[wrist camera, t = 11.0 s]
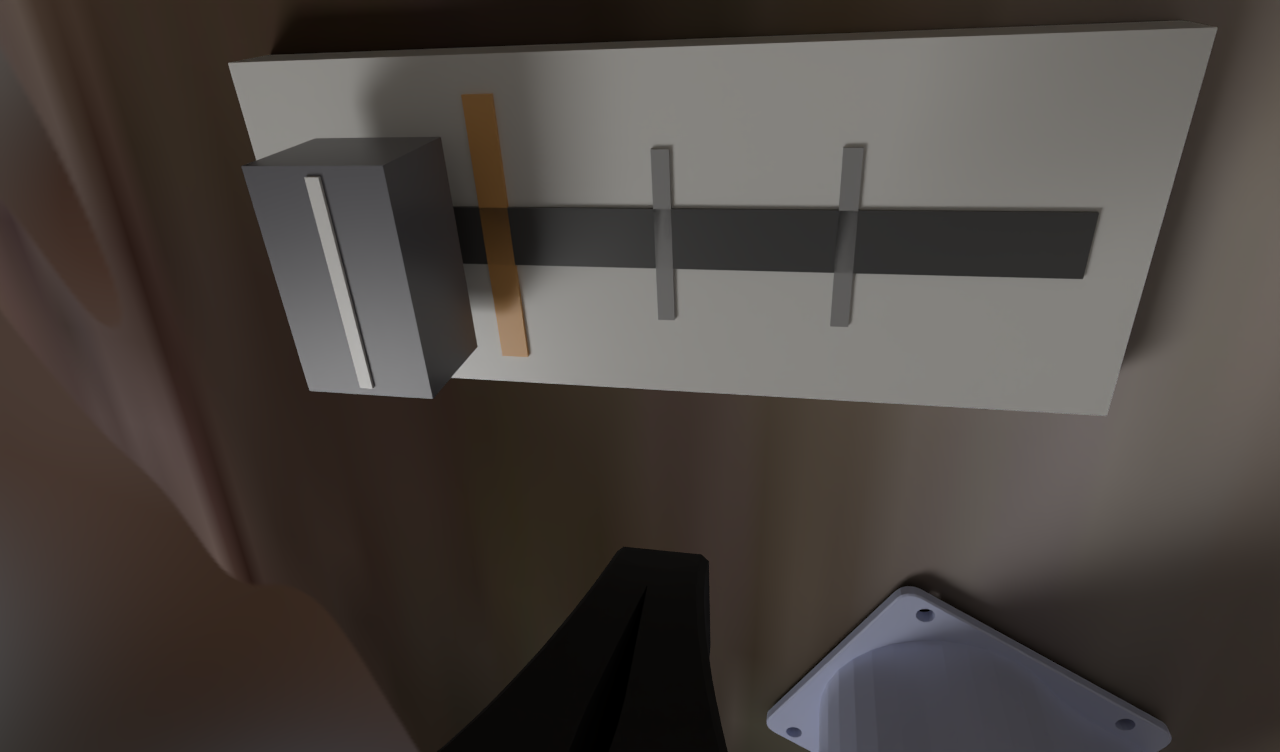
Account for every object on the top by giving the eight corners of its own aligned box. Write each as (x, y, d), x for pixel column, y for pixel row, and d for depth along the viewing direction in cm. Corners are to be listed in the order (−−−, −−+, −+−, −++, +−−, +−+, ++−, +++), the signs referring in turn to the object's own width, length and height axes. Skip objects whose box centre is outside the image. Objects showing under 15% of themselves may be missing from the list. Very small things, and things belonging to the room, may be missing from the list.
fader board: (1183, 20, 15) (1220, 27, 13) (1087, 383, 18) (1108, 418, 17) (268, 55, 19) (224, 63, 17) (346, 345, 23) (315, 371, 21)
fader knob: (458, 128, 17) (380, 166, 14) (491, 331, 19) (431, 400, 16) (337, 130, 18) (239, 167, 15) (384, 326, 20) (307, 392, 17)
